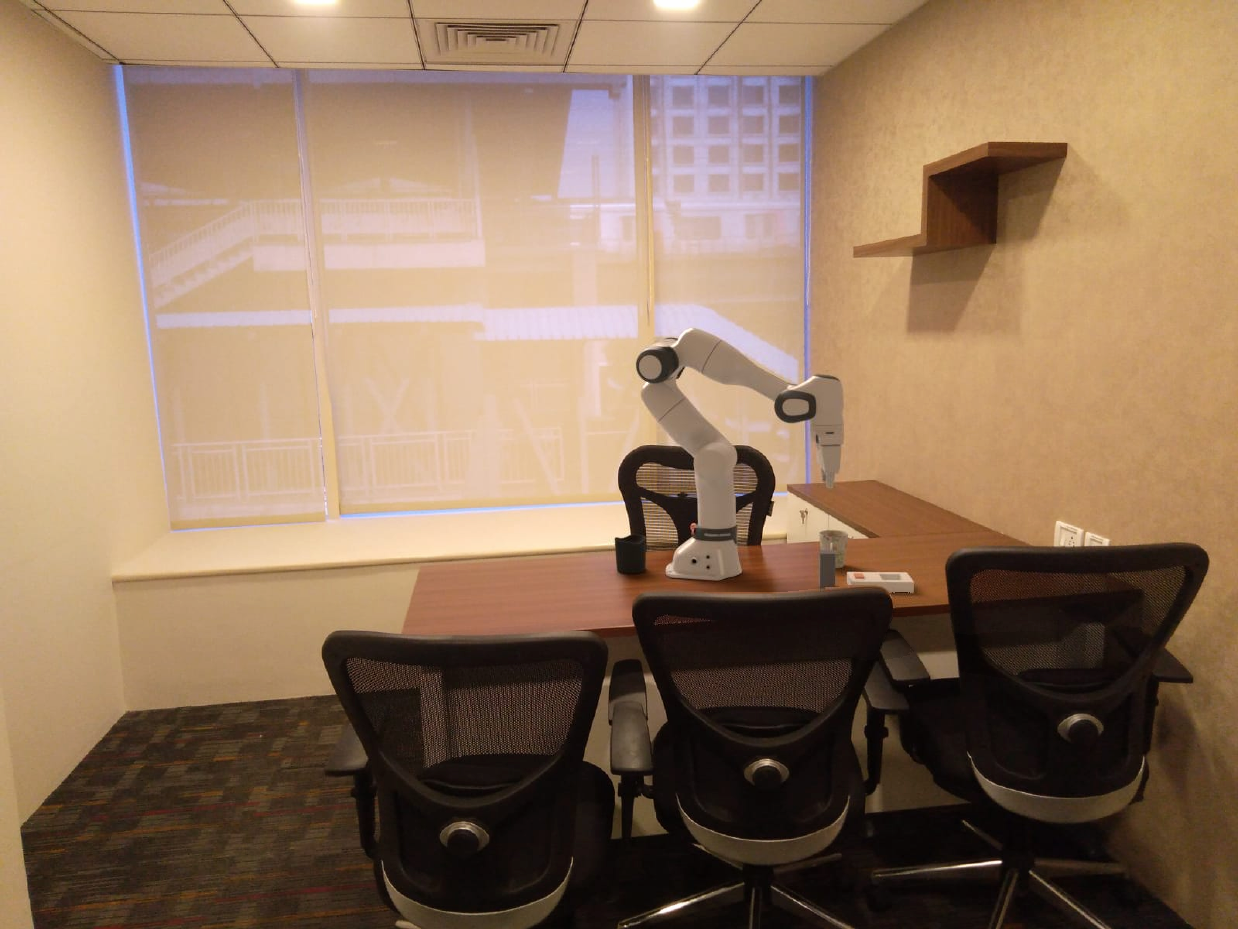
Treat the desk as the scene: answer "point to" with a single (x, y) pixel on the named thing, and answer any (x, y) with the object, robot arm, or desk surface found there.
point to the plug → (826, 568)
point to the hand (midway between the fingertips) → (827, 485)
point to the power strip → (883, 580)
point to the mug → (835, 544)
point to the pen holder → (630, 554)
